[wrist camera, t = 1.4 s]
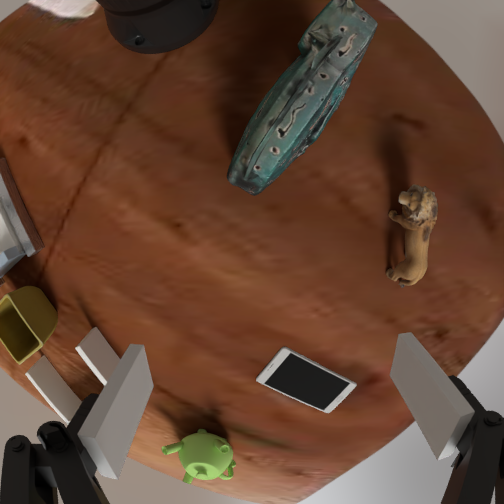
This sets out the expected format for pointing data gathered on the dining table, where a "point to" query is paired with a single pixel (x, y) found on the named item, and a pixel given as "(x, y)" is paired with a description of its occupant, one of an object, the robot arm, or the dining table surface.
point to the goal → (56, 388)
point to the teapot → (203, 456)
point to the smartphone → (305, 380)
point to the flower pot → (26, 321)
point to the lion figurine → (414, 232)
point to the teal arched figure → (303, 96)
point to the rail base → (18, 213)
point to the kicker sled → (8, 243)
